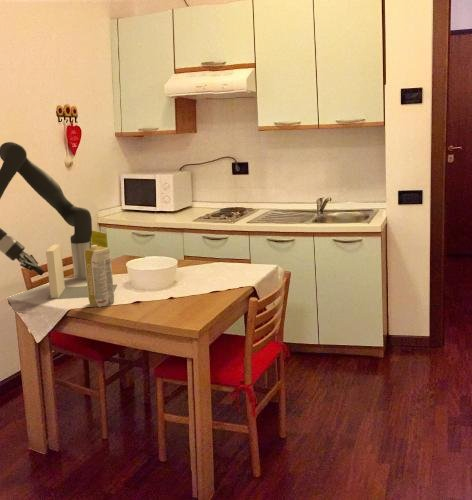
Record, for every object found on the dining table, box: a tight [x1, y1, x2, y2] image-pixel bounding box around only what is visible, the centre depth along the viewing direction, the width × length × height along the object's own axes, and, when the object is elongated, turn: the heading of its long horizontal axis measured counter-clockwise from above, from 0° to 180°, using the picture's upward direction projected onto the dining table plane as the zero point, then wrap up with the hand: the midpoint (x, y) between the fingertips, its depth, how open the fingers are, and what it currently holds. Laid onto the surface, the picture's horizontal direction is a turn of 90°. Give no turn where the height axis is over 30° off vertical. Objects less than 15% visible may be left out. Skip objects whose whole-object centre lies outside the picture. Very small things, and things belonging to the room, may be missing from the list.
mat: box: [45, 284, 118, 301], centre depth 276 cm, size 27×18×1 cm, turn 93°
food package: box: [91, 230, 109, 248], centre depth 307 cm, size 15×1×20 cm, turn 41°
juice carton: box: [84, 244, 115, 308], centre depth 256 cm, size 9×8×24 cm
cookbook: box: [45, 243, 66, 298], centre depth 273 cm, size 3×14×20 cm, turn 3°
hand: (43, 273), depth 273 cm, fingers closed
